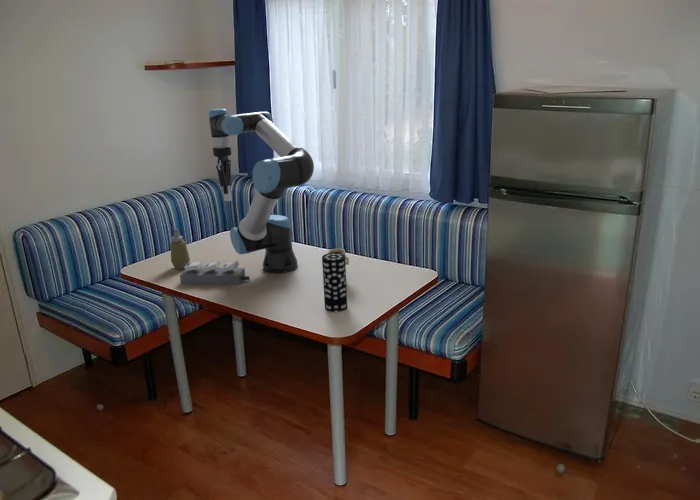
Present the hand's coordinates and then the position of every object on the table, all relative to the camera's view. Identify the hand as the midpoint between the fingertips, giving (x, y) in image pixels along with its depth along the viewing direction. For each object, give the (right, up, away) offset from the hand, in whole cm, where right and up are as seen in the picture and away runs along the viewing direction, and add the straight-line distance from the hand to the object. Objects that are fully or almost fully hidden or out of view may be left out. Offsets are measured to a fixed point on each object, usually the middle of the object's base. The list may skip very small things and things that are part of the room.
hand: (227, 200), depth 254 cm
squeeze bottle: (-22, -30, +8) cm, 38 cm away
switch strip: (-3, -34, -8) cm, 35 cm away
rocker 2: (-5, -28, -10) cm, 31 cm away
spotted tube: (+48, -43, -38) cm, 75 cm away
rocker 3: (+3, -28, -11) cm, 31 cm away
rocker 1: (-12, -28, -9) cm, 32 cm away
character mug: (+48, -35, -14) cm, 61 cm away
